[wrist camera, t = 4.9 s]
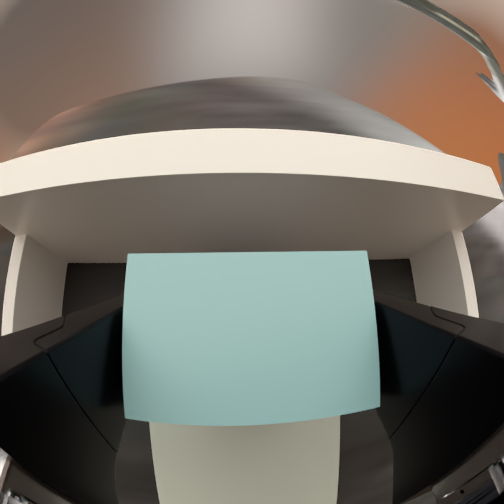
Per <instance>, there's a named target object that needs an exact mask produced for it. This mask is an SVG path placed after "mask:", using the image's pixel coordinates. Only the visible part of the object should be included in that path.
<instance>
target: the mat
mask: <svg viewBox="0 0 504 504" xmlns="http://www.w3.org/2000/svg"><path fill="white" fill-rule="evenodd" d="M149 426H150V437H151V447H152V455H153V463H154V471H155V478H156V484H157V490H158V496H159V501H160V504H337V491H338V476H339V453H340V415H339V416H333V417H327V418H321V419H314V420H307V421H298V422H289V423H278V424H265V425H244V426H202V425H182V424H168V423H158V422H149Z"/></svg>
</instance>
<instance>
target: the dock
mask: <svg viewBox="0 0 504 504" xmlns="http://www.w3.org/2000/svg"><path fill="white" fill-rule="evenodd" d="M503 201H504V198H503V195H502V193H501V190H500V188H499V185H498V183H497V180H496V178H495V176H494V174H493V172H492V169H491V168H490V167H488V166H485V165H482V164H478V163H475V162H472V161H469V160H466V159H462V158H459V157H455V156H451V155H447V154H444V153H440V152H436V151H432V150H427V149H423V148H418V147H414V146H409V145H404V144H399V143H394V142H388V141H382V140H376V139H370V138H363V137H356V136H349V135H341V134H332V133H322V132H311V131H298V130H280V129H246V128H228V129H194V130H177V131H164V132H153V133H143V134H135V135H127V136H119V137H112V138H106V139H99V140H94V141H88V142H83V143H77V144H72V145H68V146H63V147H58V148H54V149H50V150H46V151H42V152H38V153H34V154H30V155H27V156H23V157H19V158H16V159H13V160H10V161H6V162H3V163H0V224H1V225H2V226H4V227H5V228H6V229H8V230H9V231H10V232H12V233H13V234H15V235H16V236H15V240H14V244H13V248H12V253H11V258H10V263H9V269H8V275H7V281H6V288H5V296H4V305H3V317H2V335H1V336H3V335H7V334H10V333H13V332H16V331H20V330H23V329H26V328H29V327H32V326H35V325H38V324H41V323H44V322H47V321H50V320H53V319H56V318H58V317H61V316H62V306H63V295H64V286H65V278H66V271H67V264H68V263H127V257H128V254H140V253H219V252H298V251H367V255H368V260H376V259H410V264H411V269H412V275H413V281H414V287H415V294H416V301H417V303H420V304H424V305H428V306H429V307H430V306H433V307H436V308H440V309H444V310H448V311H451V312H455V313H459V314H464V315H468V316H472V317H477V318H479V315H478V307H477V300H476V293H475V287H474V281H473V276H472V271H471V266H470V262H469V257H468V253H467V249H466V245H465V241H464V237H463V233H462V231H463V230H464V229H466V228H467V227H468V226H470V225H471V224H473V223H474V222H476V221H477V220H478V219H480V218H481V217H483V216H484V215H485V214H487V213H488V212H489V211H491V210H492V209H493V208H495V207H496V206H497V205H499V204H500V203H501V202H503Z"/></svg>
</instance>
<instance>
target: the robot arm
mask: <svg viewBox="0 0 504 504" xmlns="http://www.w3.org/2000/svg"><path fill="white" fill-rule="evenodd" d="M373 297H374V305H375V315H376V325H377V337H378V351H379V371H380V407H377V408H375V409H376V411H377V414H378V416H379V418H380V420H381V423H382V425H383V427H384V429H385V432H386V434H387V436H388V438H389V439H390V440H389V441H390V443H391V446H392V451H393V497H392V504H402V503H405V502H407V501H409V500H412V499H414V498H416V497H418V496H421V495H423V494H425V493H427V492H429V491H431V490H432V491H433V493H434V496H435V499H436V501H437V504H504V323H499V322H495V321H490V320H486V319H481V318H477V317H472V316H468V315H464V314H459V313H455V312H451V311H448V310H444V309H440V308H436V307H433V306H430V307H429V306H428V305H424V304H420V303H417V302H413V301H410V300H406V299H402V298H399V297H395V296H392V295H388V294H385V293H381V292H377V291H374V290H373ZM123 305H124V294H122V295H119V296H117V297H114V298H111V299H109V300H106V301H103V302H100V303H98V304H95V305H92V306H89V307H87V308H84V309H81V310H79V311H76V312H73V313H70V314H68V315H66V316H61V317H58V318H56V319H53V320H50V321H47V322H44V323H41V324H38V325H35V326H32V327H29V328H26V329H23V330H20V331H16V332H13V333H10V334H7V335H3V336H0V504H118V498H117V490H116V480H115V460H116V455H117V451H118V448H119V444H120V441H121V437H122V434H123V431H124V427H125V424H126V421H127V418H125V413H124V398H123V375H122V329H123Z"/></svg>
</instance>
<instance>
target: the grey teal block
mask: <svg viewBox="0 0 504 504" xmlns="http://www.w3.org/2000/svg"><path fill="white" fill-rule="evenodd" d="M122 375H123V398H124V413H125V418H127V419H133V420H141V421H149V422H158V423H168V424H182V425H202V426H244V425H265V424H278V423H289V422H298V421H307V420H314V419H321V418H327V417H333V416H339V415H344V414H350V413H355V412H359V411H364V410H368V409H373V408H377V407H380V371H379V351H378V337H377V325H376V315H375V305H374V297H373V289H372V281H371V274H370V268H369V261H368V255H367V251H298V252H219V253H140V254H128V257H127V266H126V277H125V289H124V305H123V329H122Z"/></svg>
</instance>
